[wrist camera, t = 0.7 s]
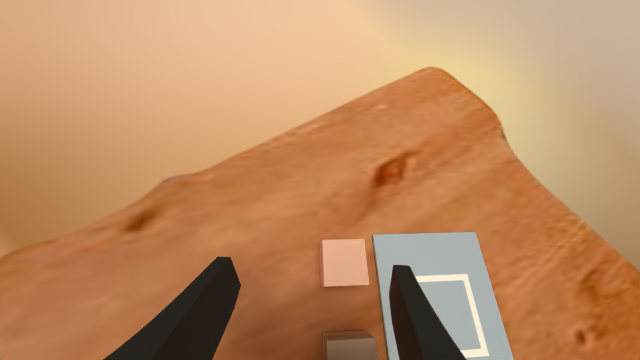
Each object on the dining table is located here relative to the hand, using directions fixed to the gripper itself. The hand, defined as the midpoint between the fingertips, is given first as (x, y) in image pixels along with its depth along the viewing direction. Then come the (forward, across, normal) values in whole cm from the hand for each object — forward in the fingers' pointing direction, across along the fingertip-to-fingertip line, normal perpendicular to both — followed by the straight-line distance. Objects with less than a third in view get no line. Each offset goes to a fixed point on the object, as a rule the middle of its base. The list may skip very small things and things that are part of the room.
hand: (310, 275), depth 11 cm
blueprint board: (+8, -11, +16) cm, 21 cm away
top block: (+10, -1, +12) cm, 16 cm away
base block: (+4, -1, +16) cm, 17 cm away
